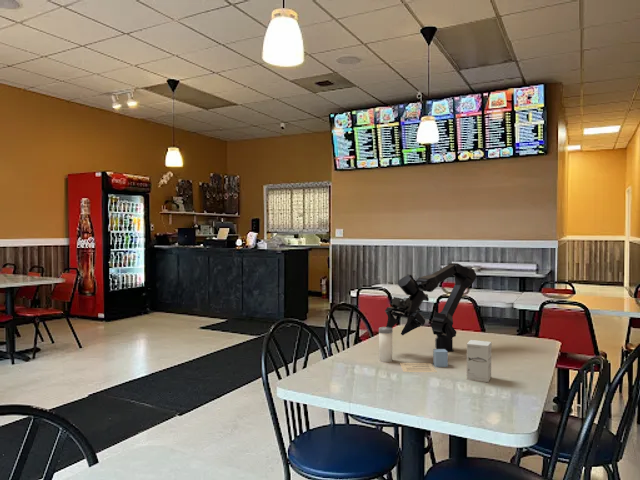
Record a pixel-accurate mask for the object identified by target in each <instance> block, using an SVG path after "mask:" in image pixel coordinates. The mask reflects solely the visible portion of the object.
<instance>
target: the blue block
mask: <svg viewBox="0 0 640 480" xmlns="http://www.w3.org/2000/svg"><path fill="white" fill-rule="evenodd" d="M432 352H433V355H432V356H433V357H432V358H433V360H432V361H433V363H432V365H433V366H434V368H448V367H449V365H448V364H449V363H448V362H449V361H448V359H449V357H448V356H449V355H448V352H449V351H446V349H436V348H433V350H432Z"/></svg>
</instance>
